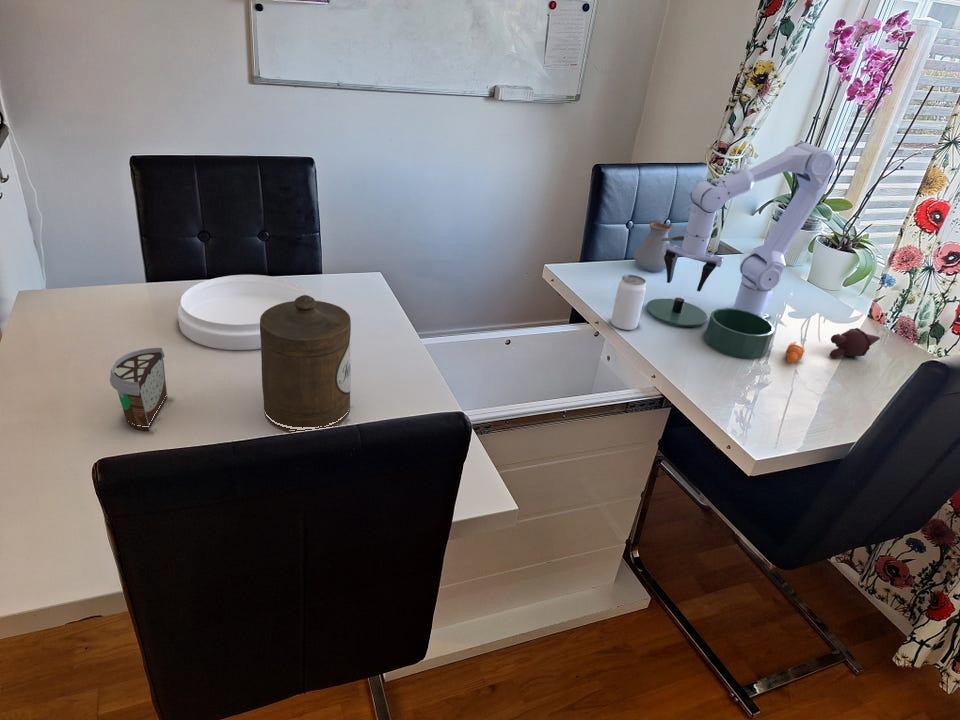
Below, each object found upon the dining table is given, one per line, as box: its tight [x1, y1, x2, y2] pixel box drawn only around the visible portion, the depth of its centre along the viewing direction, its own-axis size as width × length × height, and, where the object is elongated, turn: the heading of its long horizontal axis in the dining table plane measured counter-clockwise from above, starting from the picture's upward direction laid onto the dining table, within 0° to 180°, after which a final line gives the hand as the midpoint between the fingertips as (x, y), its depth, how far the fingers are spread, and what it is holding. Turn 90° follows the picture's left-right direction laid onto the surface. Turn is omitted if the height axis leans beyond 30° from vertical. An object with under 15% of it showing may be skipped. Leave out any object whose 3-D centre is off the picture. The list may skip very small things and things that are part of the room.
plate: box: [177, 274, 306, 351], centre depth 144 cm, size 27×27×5 cm
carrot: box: [785, 341, 805, 364], centre depth 154 cm, size 10×4×4 cm
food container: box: [109, 347, 169, 433], centre depth 110 cm, size 12×6×10 cm, turn 5°
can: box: [610, 274, 647, 331], centre depth 160 cm, size 6×6×12 cm
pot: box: [704, 307, 775, 360], centre depth 158 cm, size 14×14×6 cm
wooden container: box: [260, 294, 352, 433], centre depth 113 cm, size 15×15×22 cm
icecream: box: [829, 327, 881, 359], centre depth 159 cm, size 7×7×15 cm
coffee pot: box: [633, 222, 685, 273], centre depth 193 cm, size 21×12×15 cm, turn 18°
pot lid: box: [645, 297, 708, 328], centre depth 170 cm, size 15×15×4 cm
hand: (684, 285), depth 167 cm, fingers open, 7 cm apart
